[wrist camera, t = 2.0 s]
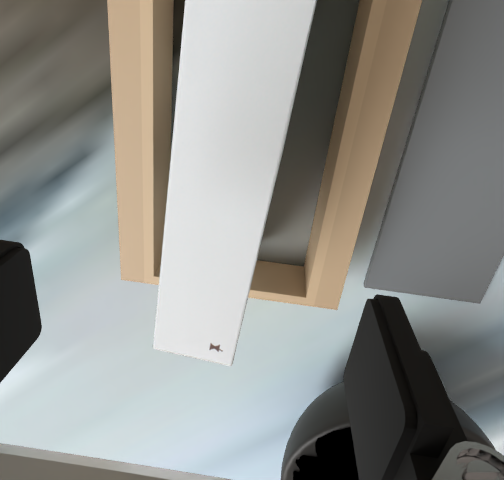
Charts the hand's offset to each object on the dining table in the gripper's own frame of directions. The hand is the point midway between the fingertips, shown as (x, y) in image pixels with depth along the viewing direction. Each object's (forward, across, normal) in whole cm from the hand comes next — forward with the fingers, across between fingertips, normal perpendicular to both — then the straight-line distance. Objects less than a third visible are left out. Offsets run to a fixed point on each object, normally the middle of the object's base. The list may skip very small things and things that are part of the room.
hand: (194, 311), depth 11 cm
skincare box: (+24, 0, -1) cm, 24 cm away
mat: (+24, -18, -1) cm, 30 cm away
